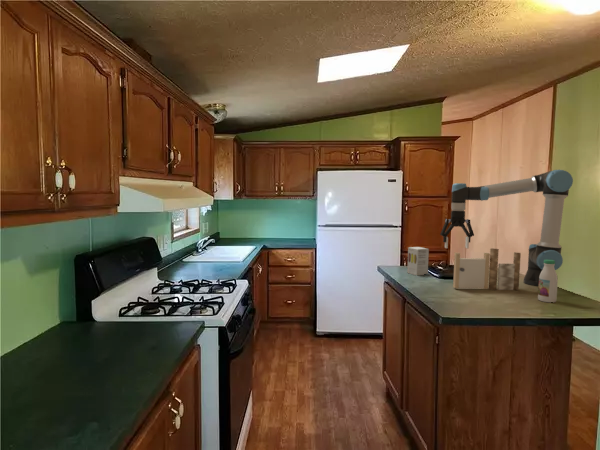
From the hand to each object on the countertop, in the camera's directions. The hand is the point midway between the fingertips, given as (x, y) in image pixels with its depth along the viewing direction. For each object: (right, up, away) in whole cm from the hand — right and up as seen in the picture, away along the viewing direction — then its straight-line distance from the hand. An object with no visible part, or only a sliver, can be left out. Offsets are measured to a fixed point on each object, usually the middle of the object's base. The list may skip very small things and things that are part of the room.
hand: (456, 248), depth 231 cm
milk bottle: (+30, -24, -37) cm, 53 cm away
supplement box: (-15, -18, +26) cm, 35 cm away
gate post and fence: (+20, -22, -14) cm, 33 cm away
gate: (+2, -21, -15) cm, 26 cm away
